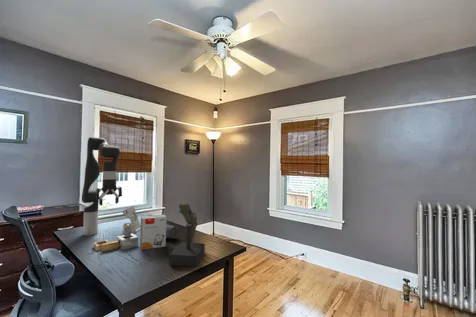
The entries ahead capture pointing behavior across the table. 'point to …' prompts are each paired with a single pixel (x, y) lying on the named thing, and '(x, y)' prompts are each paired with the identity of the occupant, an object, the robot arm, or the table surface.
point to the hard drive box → (153, 231)
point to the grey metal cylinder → (127, 231)
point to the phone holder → (132, 219)
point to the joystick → (187, 252)
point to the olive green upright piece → (189, 219)
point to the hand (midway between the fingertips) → (108, 204)
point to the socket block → (127, 242)
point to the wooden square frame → (99, 244)
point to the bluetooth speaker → (171, 231)
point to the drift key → (109, 246)
